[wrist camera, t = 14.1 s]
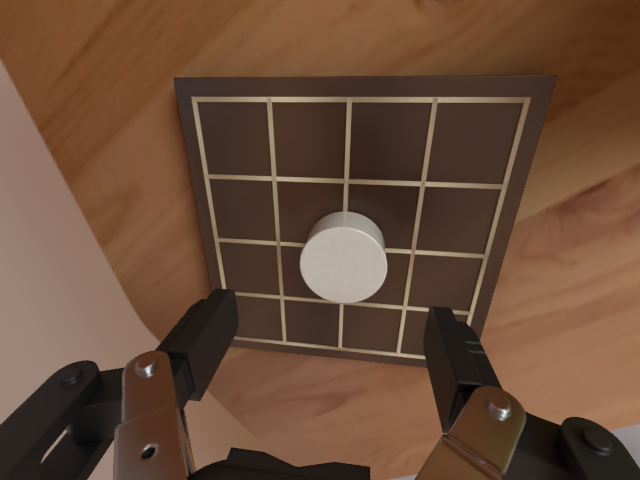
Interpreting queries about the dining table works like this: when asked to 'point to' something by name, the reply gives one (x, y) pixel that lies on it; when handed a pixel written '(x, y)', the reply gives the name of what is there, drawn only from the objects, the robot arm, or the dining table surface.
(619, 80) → the dining table surface
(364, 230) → the white cylindrical puck
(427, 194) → the board
